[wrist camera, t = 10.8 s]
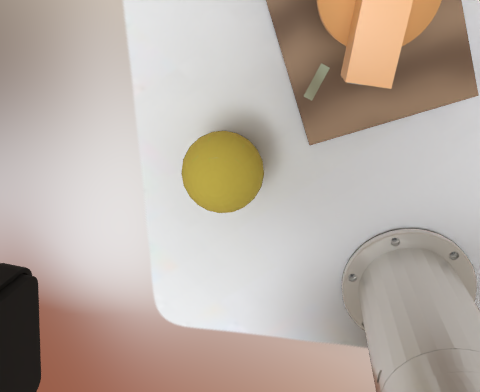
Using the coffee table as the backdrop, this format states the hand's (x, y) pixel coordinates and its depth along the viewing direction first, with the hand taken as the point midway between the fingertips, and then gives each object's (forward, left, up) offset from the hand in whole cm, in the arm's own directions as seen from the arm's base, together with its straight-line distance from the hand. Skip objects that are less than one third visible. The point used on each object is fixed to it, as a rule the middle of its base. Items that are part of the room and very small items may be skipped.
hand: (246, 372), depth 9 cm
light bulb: (-2, +7, -34) cm, 35 cm away
